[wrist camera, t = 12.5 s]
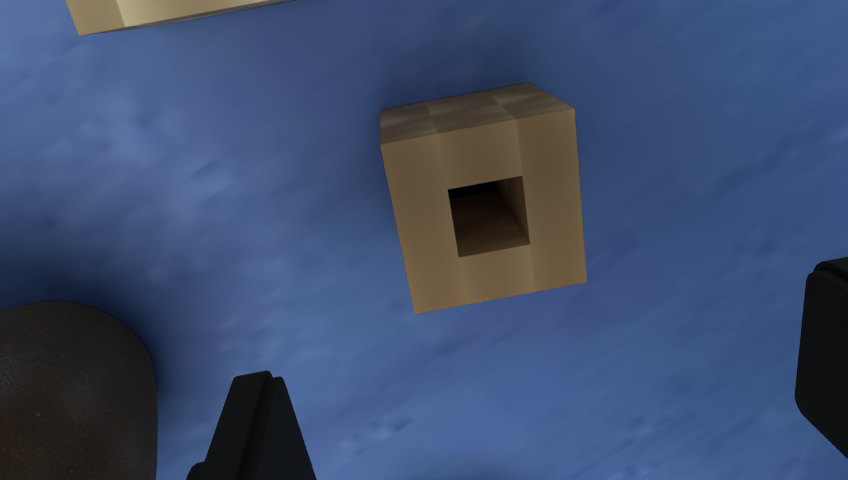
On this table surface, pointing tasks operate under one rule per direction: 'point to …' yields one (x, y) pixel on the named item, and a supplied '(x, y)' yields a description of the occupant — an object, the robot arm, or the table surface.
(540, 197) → the block
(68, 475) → the plant pot
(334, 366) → the table surface
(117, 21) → the go block
